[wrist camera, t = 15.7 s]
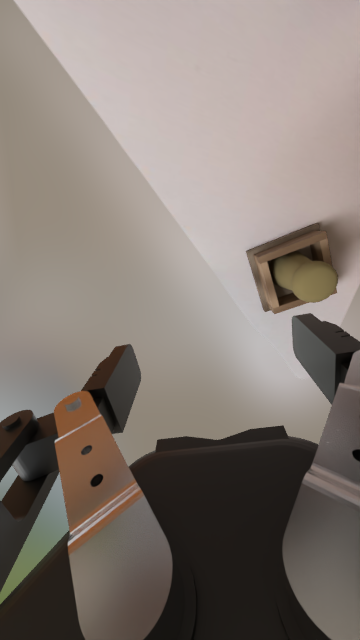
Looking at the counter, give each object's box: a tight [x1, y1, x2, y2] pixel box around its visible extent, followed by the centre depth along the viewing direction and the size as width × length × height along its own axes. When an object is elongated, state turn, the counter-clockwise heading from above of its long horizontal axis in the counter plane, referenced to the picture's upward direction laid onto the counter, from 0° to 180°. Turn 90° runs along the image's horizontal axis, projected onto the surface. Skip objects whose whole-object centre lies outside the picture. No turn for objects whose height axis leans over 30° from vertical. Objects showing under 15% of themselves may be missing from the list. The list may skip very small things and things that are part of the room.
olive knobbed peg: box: [269, 251, 338, 303], centre depth 33 cm, size 6×6×11 cm
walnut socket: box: [246, 224, 337, 314], centre depth 37 cm, size 11×11×4 cm
